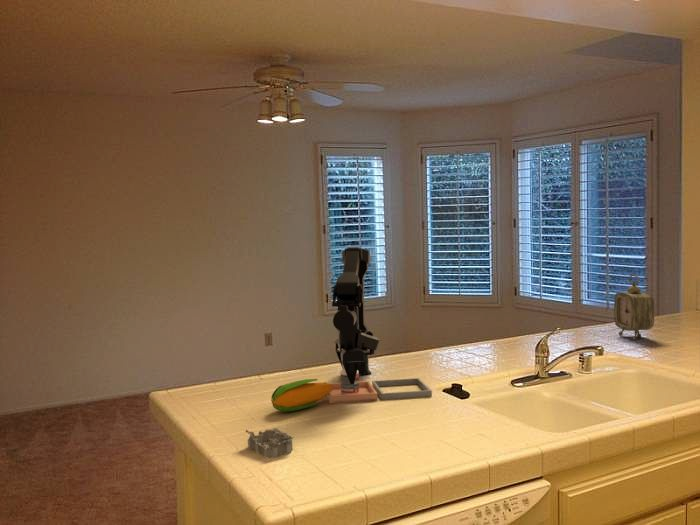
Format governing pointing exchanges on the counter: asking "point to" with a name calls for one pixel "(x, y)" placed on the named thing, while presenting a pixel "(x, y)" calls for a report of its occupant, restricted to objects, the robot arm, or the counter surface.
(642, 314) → the tabletop clock
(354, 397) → the terracotta dish
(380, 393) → the grey frame
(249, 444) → the egg carton
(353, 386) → the pill bottle
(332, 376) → the counter surface
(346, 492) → the counter surface
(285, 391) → the corn
